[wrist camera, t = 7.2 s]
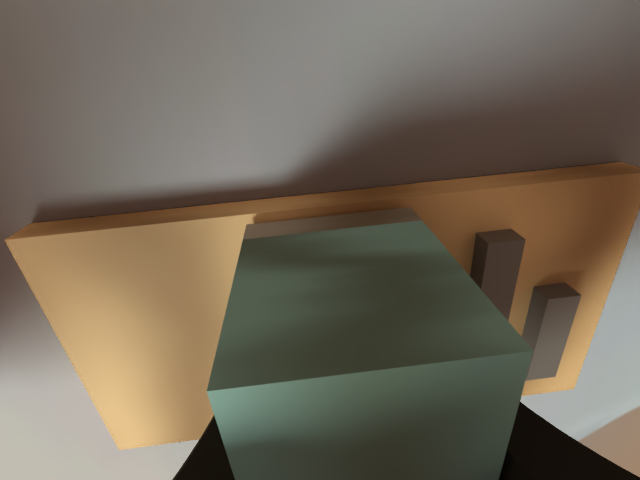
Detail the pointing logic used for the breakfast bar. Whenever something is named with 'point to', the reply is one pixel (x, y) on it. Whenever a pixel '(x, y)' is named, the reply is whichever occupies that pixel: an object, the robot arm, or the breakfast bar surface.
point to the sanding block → (362, 356)
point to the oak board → (221, 260)
